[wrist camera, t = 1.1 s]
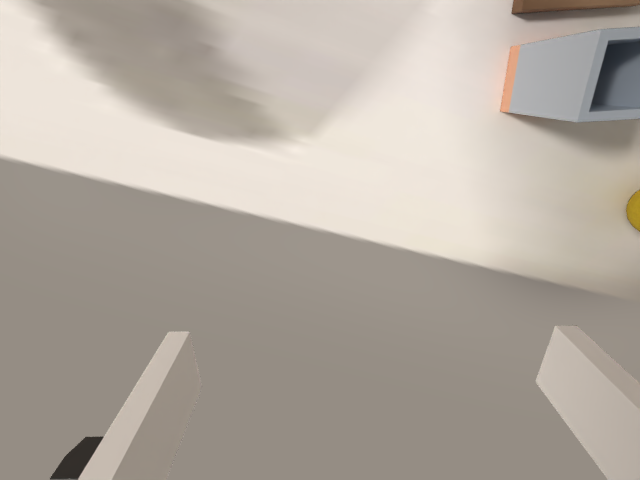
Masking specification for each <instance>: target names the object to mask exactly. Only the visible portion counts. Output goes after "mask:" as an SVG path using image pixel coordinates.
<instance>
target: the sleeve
mask: <svg viewBox="0 0 640 480" xmlns="http://www.w3.org/2000/svg"><path fill="white" fill-rule="evenodd" d="M500 111H502V112H509V113H516V114H523V115H530V116H536V117H543V118H550V119H557V120H564V121H571V122H592V121H609V120H626V119H640V27H628V28H612V29H600V30H594V31H589V32H584V33H579V34H574V35H569V36H564V37H559V38H553V39H548V40H543V41H538V42H533V43H528V44H523V45H517V46H512V47H511V49H510V55H509V61H508V67H507V73H506V79H505V85H504V91H503V97H502V103H501V109H500Z"/></svg>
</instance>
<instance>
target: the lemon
mask: <svg viewBox="0 0 640 480" xmlns="http://www.w3.org/2000/svg"><path fill="white" fill-rule="evenodd" d="M626 212H627V217H628V220H629V221H630V223H631V224H632V226H633V227H634V228H636V229H637V230H638V231H639V232H640V190H639V191H637V192H636V193H635V194H634V195H633V196H632V197H631V199H630V200H629V202H628V204H627V209H626Z"/></svg>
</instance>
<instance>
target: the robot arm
mask: <svg viewBox="0 0 640 480" xmlns="http://www.w3.org/2000/svg"><path fill="white" fill-rule="evenodd" d="M536 383H537V384H538V386H539V387H540V389H541V390H542V391H543V393H544V394H545V395H546V396H547V398H548V399H549V401H550V402H551V403H552V405H553V406H554V407H555V409H556V410H557V411H558V413H559V414H560V415H561V417H562V418H563V420H564V421H565V422H566V423H567V425H568V426H569V428H570V429H571V430H572V432H573V433H574V434H575V436H576V437H577V438H578V440H579V441H580V442H581V444H582V445H583V447H584V448H585V449H586V450H587V452H588V453H589V455H590V456H591V457H592V459H593V460H594V461H595V462H596V464H597V465H598V467H599V468H600V469H601V471H602V472H603V474H604V475H605V476H606V478H607V479H608V480H640V383H639V382H638V381H637V380H636V379H635V378H633V377H632V376H631V375H630V374H629V373H628V372H627V371H626V370H625V369H624V368H623V367H621V366H620V365H619V364H618V363H617V362H616V361H615V360H613V358H612V357H611V356H609V355H608V354H607V353H606V352H605V351H604V350H603V349H602V348H601V347H600V346H599V345H597V344H596V343H595V342H594V341H593V340H592V339H591V338H590V337H589V336H588V335H587V334H585V333H584V332H583V331H582V330H581V329H580V328H579V327H578V326H576V325H566V326H555V328H554V331H553V333H552V336H551V339H550V342H549V345H548V348H547V350H546V353H545V356H544V359H543V362H542V365H541V367H540V370H539V373H538V376H537V379H536ZM201 389H202V384H201V380H200V375H199V371H198V366H197V362H196V358H195V353H194V349H193V344H192V340H191V336H190V332H168V333H167V335H166V337H165V338H164V340H163V342H162V343H161V345H160V347H159V348H158V350H157V351H156V353H155V355H154V356H153V358H152V360H151V361H150V363H149V364H148V366H147V368H146V369H145V371H144V372H143V374H142V376H141V377H140V379H139V381H138V382H137V384H136V385H135V387H134V389H133V390H132V392H131V394H130V395H129V397H128V399H127V400H126V402H125V403H124V405H123V407H122V408H121V410H120V412H119V413H118V415H117V417H116V418H115V420H114V422H113V423H112V425H111V426H110V428H109V430H108V431H107V433H106V435H105V436H104V437H85V438H84V439H83V440H82V441H81V442H80V443H79V444H78V445H77V446H76V447H75V448H74V449H72V450H71V451H70V452H69V453H68V454H67V455H66V456H65V457H64V459H63V460H62V462H61V463H60V465H59V466H58V468H57V469H56V471H55V472H54V473H53V475H52V476H51V478H50V480H166V479H167V477H168V474H169V472H170V469H171V467H172V464H173V461H174V459H175V456H176V453H177V451H178V448H179V446H180V443H181V441H182V438H183V435H184V433H185V430H186V428H187V425H188V423H189V420H190V417H191V415H192V412H193V409H194V407H195V405H196V402H197V399H198V397H199V394H200V392H201Z"/></svg>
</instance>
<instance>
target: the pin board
mask: <svg viewBox="0 0 640 480" xmlns="http://www.w3.org/2000/svg"><path fill="white" fill-rule="evenodd" d="M636 5H640V0H514V2H513V8H512V14H517V13H533V12H548V11H564V10H580V9H595V8H611V7H627V6H636Z"/></svg>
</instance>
